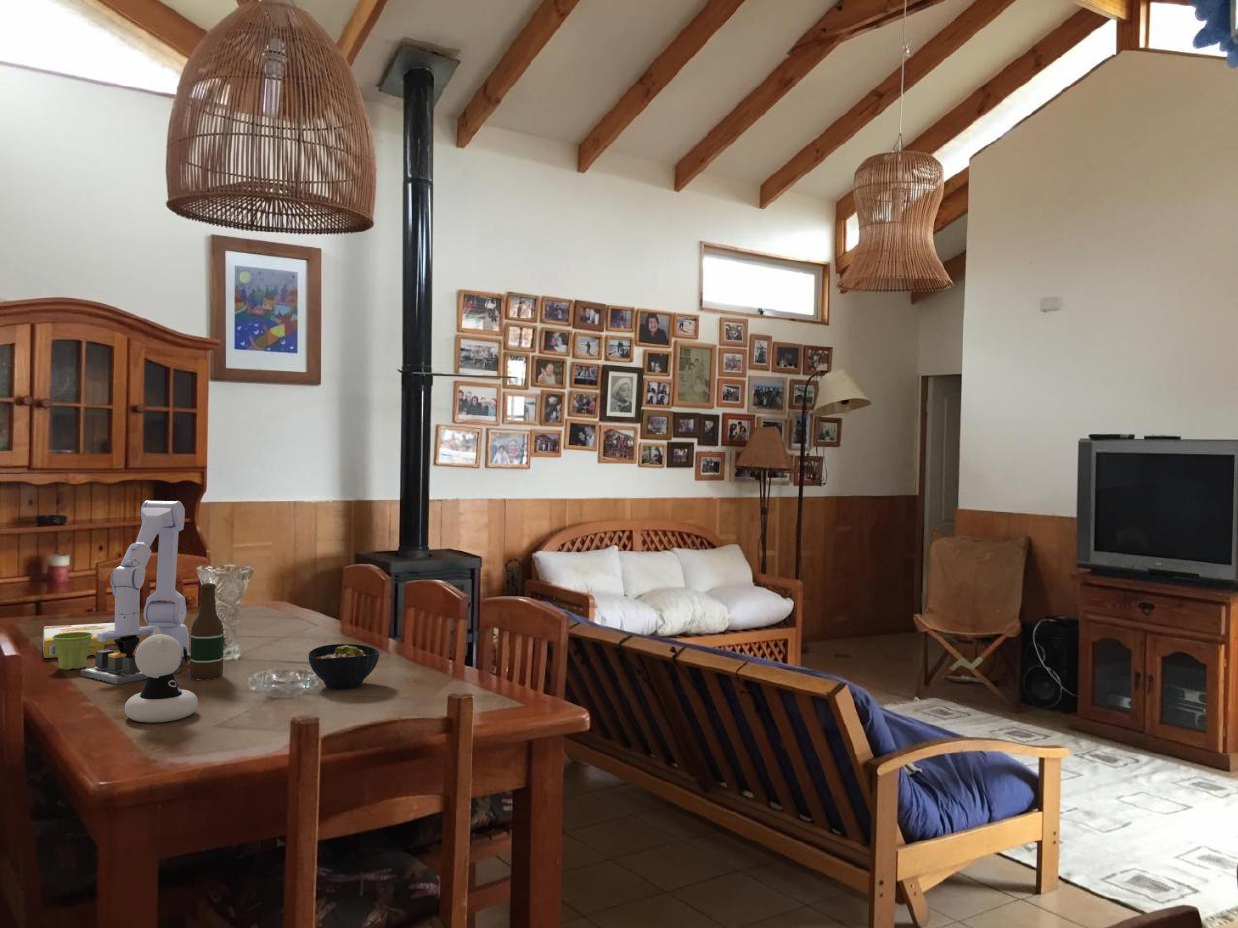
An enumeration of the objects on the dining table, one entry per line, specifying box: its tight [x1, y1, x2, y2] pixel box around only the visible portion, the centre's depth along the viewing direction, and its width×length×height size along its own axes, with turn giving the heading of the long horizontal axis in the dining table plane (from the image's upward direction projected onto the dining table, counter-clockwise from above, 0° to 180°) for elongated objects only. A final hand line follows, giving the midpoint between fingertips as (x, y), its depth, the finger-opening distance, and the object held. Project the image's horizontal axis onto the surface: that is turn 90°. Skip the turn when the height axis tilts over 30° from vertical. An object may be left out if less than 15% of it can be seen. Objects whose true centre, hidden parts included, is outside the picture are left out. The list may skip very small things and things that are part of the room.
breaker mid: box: [108, 652, 126, 671], centre depth 253 cm, size 3×3×4 cm
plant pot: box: [52, 632, 93, 671], centre depth 263 cm, size 9×9×9 cm
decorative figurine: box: [124, 623, 199, 724], centre depth 217 cm, size 15×15×20 cm
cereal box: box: [42, 622, 124, 659], centre depth 289 cm, size 20×6×28 cm
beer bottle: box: [189, 582, 225, 681], centre depth 255 cm, size 8×8×24 cm
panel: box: [80, 649, 180, 685], centre depth 257 cm, size 17×16×6 cm
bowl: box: [308, 643, 380, 691], centre depth 248 cm, size 17×17×10 cm
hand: (126, 665), depth 256 cm, fingers closed
